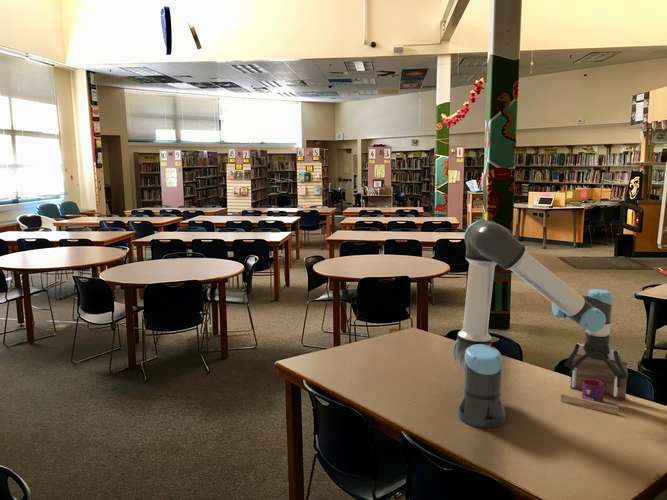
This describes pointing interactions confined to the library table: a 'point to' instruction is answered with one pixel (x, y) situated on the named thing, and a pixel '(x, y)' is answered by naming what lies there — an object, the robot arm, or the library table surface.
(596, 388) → the mug
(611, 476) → the library table surface
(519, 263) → the robot arm
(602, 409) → the cleat ledge
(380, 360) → the library table surface
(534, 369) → the library table surface
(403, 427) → the library table surface
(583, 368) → the wall board
